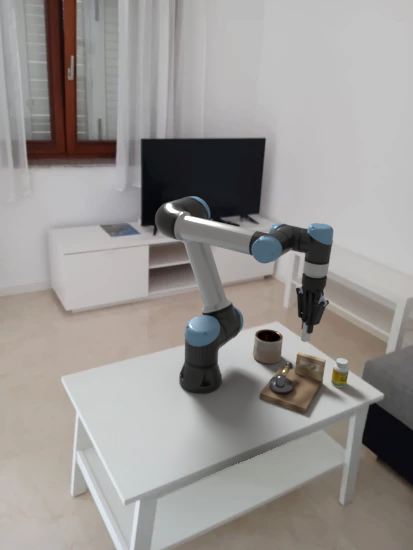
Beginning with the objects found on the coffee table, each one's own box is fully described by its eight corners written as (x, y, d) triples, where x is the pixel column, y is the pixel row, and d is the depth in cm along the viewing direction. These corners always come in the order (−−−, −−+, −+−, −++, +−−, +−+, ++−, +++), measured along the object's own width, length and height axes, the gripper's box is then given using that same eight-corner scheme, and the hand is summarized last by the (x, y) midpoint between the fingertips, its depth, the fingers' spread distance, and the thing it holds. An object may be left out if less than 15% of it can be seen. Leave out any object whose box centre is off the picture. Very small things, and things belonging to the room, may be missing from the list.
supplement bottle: (337, 378, 174) (341, 355, 170) (349, 385, 170) (353, 362, 166) (327, 382, 171) (331, 359, 168) (339, 389, 167) (342, 366, 163)
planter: (282, 365, 181) (284, 343, 177) (254, 364, 181) (255, 342, 177) (278, 350, 191) (281, 329, 187) (251, 349, 191) (253, 328, 187)
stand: (259, 398, 161) (261, 372, 157) (280, 370, 177) (283, 347, 174) (305, 413, 154) (308, 388, 150) (322, 383, 170) (326, 359, 166)
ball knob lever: (288, 397, 158) (290, 383, 156) (265, 390, 162) (267, 376, 159) (299, 378, 169) (301, 364, 167) (278, 371, 173) (279, 358, 170)
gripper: (339, 279, 144) (328, 346, 152) (309, 265, 154) (300, 329, 163) (320, 283, 140) (310, 352, 149) (291, 268, 150) (284, 333, 159)
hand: (305, 340), depth 156 cm, fingers closed
